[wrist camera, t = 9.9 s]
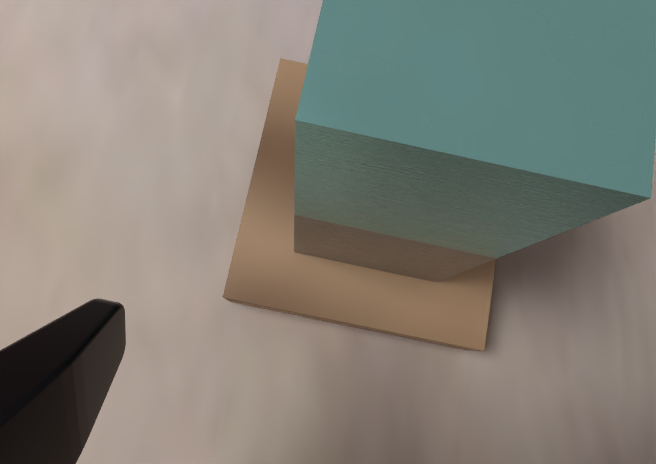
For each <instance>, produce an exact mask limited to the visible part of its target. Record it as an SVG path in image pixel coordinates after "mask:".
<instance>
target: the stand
mask: <svg viewBox="0 0 656 464" xmlns="http://www.w3.org/2000/svg"><path fill="white" fill-rule="evenodd" d="M307 67H308V64H304V63H299V62H295V61H290V60H286V59H280V63H279V67H278V71H277V75H276V79H275V83H274V88H273V92H272V96H271V100H270V104H269V108H268V112H267V117H266V121H265V125H264V129H263V133H262V137H261V141H260V146H259V150H258V154H257V158H256V162H255V166H254V170H253V174H252V179H251V183H250V187H249V191H248V195H247V199H246V203H245V208H244V212H243V216H242V220H241V224H240V228H239V232H238V237H237V241H236V245H235V249H234V253H233V257H232V261H231V265H230V270H229V274H228V278H227V282H226V286H225V290H224V294H223V298H225V299H227V300H228V301H230V302H235V303H240V304H245V305H250V306H254V307H259V308H264V309H269V310H274V311H279V312H284V313H289V314H294V315H298V316H303V317H308V318H313V319H318V320H323V321H328V322H333V323H337V324H342V325H347V326H352V327H357V328H362V329H367V330H372V331H376V332H381V333H386V334H391V335H396V336H401V337H406V338H411V339H416V340H420V341H425V342H430V343H435V344H440V345H445V346H450V347H455V348H459V349H464V350H478V351H484V349H485V342H486V334H487V326H488V319H489V311H490V303H491V296H492V288H493V281H494V273H495V265H496V259H494V260H492V261H489V262H487V263H484V264H481V265H479V266H476V267H474V268H471V269H469V270H466V271H464V272H461V273H458V274H456V275H453V276H451V277H448V278H446V279H443V280H441V281H438V282H431V281H427V280H422V279H417V278H413V277H408V276H403V275H398V274H394V273H389V272H384V271H380V270H375V269H370V268H366V267H361V266H356V265H352V264H347V263H342V262H338V261H333V260H328V259H324V258H319V257H314V256H310V255H305V254H300V253H295V252H294V191H295V118H296V114H297V110H298V105H299V101H300V97H301V93H302V88H303V84H304V80H305V76H306V71H307Z"/></svg>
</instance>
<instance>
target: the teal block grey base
mask: <svg viewBox="0 0 656 464" xmlns="http://www.w3.org/2000/svg"><path fill="white" fill-rule="evenodd" d="M655 137H656V0H323V3H322V7H321V12H320V16H319V20H318V25H317V29H316V33H315V37H314V42H313V46H312V50H311V54H310V59H309V63H308V67H307V71H306V76H305V80H304V84H303V88H302V93H301V97H300V101H299V105H298V110H297V114H296V118H295V191H294V252H295V253H300V254H305V255H310V256H314V257H319V258H324V259H328V260H333V261H338V262H342V263H347V264H352V265H356V266H361V267H366V268H370V269H375V270H380V271H384V272H389V273H394V274H398V275H403V276H408V277H413V278H417V279H422V280H427V281H431V282H438V281H441V280H443V279H446V278H448V277H451V276H453V275H456V274H458V273H461V272H464V271H466V270H469V269H471V268H474V267H476V266H479V265H481V264H484V263H487V262H489V261H492V260H494V259H497V258H499V257H502V256H504V255H507V254H509V253H512V252H515V251H517V250H520V249H522V248H525V247H527V246H530V245H532V244H535V243H538V242H540V241H543V240H545V239H548V238H550V237H553V236H555V235H558V234H560V233H563V232H566V231H568V230H571V229H573V228H576V227H578V226H581V225H583V224H586V223H589V222H591V221H594V220H596V219H599V218H601V217H604V216H606V215H609V214H611V213H614V212H617V211H619V210H622V209H624V208H627V207H629V206H632V205H634V204H637V203H640V202H642V201H645V200H647V199H650V198H651V191H652V177H653V164H654V150H655Z"/></svg>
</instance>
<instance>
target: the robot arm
mask: <svg viewBox="0 0 656 464" xmlns="http://www.w3.org/2000/svg"><path fill="white" fill-rule="evenodd" d="M125 345H126V334H125V310H124V307H123V305H122V304H120V303H118V302H113V301H108V300H104V299H93V300H91V301H89V302H87V303H85V304H83V305H81V306H80V307H78V308H76V309H74V310H72V311H71V312H69V313H67V314H65V315H63V316H62V317H60V318H58V319H56V320H54V321H53V322H51V323H49V324H47V325H45V326H43V327H42V328H40V329H38V330H36V331H34V332H33V333H31V334H29V335H27V336H25V337H24V338H22V339H20V340H18V341H16V342H15V343H13V344H11V345H9V346H7V347H6V348H4V349H2V350H0V464H76V462H77V460H78V458H79V456H80V454H81V453H82V450H83V448H84V446H85V444H86V442H87V439H88V437H89V435H90V432H91V430H92V428H93V425H94V423H95V421H96V418H97V416H98V414H99V411H100V409H101V407H102V404H103V402H104V400H105V397H106V395H107V393H108V390H109V388H110V386H111V383H112V381H113V379H114V376H115V374H116V372H117V369H118V367H119V365H120V362H121V360H122V357H123V354H124V351H125Z"/></svg>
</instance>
